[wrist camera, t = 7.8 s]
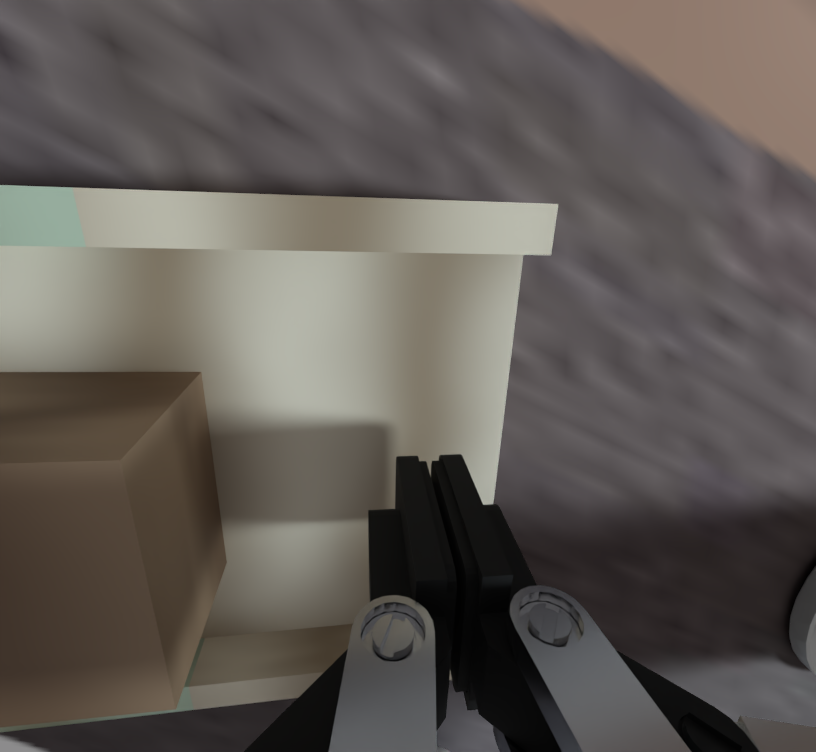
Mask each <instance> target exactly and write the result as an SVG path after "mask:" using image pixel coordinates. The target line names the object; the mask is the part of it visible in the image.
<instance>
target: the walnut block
mask: <svg viewBox="0 0 816 752" xmlns="http://www.w3.org/2000/svg"><path fill="white" fill-rule="evenodd" d="M226 564H227V560H226V552H225V545H224V538H223V530H222V523H221V515H220V508H219V500H218V493H217V485H216V478H215V470H214V463H213V455H212V448H211V440H210V433H209V425H208V418H207V410H206V403H205V396H204V388H203V381H202V373H201V372H0V728H1V727H11V726H20V725H30V724H40V723H49V722H59V721H69V720H78V719H88V718H98V717H107V716H117V715H127V714H136V713H146V712H156V711H165V710H175V709H176V708H177V705H178V702H179V699H180V696H181V694H182V691H183V688H184V685H185V682H186V679H187V676H188V673H189V670H190V668H191V665H192V662H193V659H194V656H195V653H196V650H197V647H198V644H199V642H200V639H201V636H202V633H203V630H204V627H205V624H206V621H207V618H208V616H209V613H210V610H211V607H212V604H213V601H214V598H215V595H216V592H217V590H218V587H219V584H220V581H221V578H222V575H223V572H224V569H225V566H226Z"/></svg>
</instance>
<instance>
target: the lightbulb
mask: <svg viewBox="0 0 816 752" xmlns="http://www.w3.org/2000/svg"><path fill="white" fill-rule="evenodd" d="M437 752H451V751H449V750H448V749H446V748H442V747H439V746H438V745H437Z"/></svg>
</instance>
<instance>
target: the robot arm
mask: <svg viewBox="0 0 816 752" xmlns="http://www.w3.org/2000/svg"><path fill="white" fill-rule="evenodd" d="M368 547H369V594H370V602H369V603H368V604H366V605H365V606H364V607H363V608H362V609H361V610H360V611H359V613H358V614H357V615H356V617H355V620H354V623H353V625H352V629H351V634H350V640H349V645H348V649H347V650H346V651H345V652H344V653H343V654H342V655H341V656H340V657H339V658H338V659H337V660H336V661H335V662H334V663H333V664H332V665H331V666H330V667H329V668H328V669H327V670H326V671H325V672H324V673H323V674H322V675H321V676H320V677H319V678H318V679H317V680H316V681H315V682H314V683H313V684H312V685H311V686H310V687H309V688H308V689H307V690H306V691H305V692H304V693H303V694H302V695H301V696H300V697H299V698H298V699H297V700H296V701H295V702H294V703H292V704H291V705H290V706H289V707H288V708H287V709H286V710H285V711H284V712H283V713H282V714H281V715H280V716H279V717H278V718H277V719H276V720H275V721H274V722H273V723H272V724H271V725H270V726H269V727H268V728H267V729H266V730H265V731H264V732H263V733H262V734H261V735H260V736H259V737H258V738H257V739H256V740H255V741H254V742H253V743H252V744H251V745H250V746H249V747H248V748H247V749H246V750H245V751H244V752H437V730H438V728H439V727H440V725H441V724H442V722H443V721H444V719H445V718H446V708H447V696H448V688H449V676H450V671H451V676H452V681H453V686H454V689H455V691H456V692H460V691H464V696H465V700H466V705H467V709H468V710H476V709H478V712H479V714H480V715H481V716H482V717H483V718H485V719H486V720H487V721H488V722H489V723H491V724H492V725H493V732H494V736H495V740H496V744H497V746H498V749H499V751H500V752H816V727H812V726H806V725H799V724H793V723H787V722H780V721H774V720H767V719H761V718H754V717H748V716H741V715H740V717H739V719H738V722H734V721H733V720H731V719H730V718H729V717H728V716H726V715H725V714H723V713H722V712H721V711H719V710H718V709H716V708H715V707H713V706H712V705H710V704H708V703H706V702H705V701H703V700H701V699H700V698H698V697H696V696H694V695H693V694H691V693H689V692H687V691H686V690H684V689H682V688H681V687H679V686H677V685H675V684H674V683H672V682H670V681H668V680H667V679H665V678H663V677H661V676H660V675H658V674H656V673H655V672H653V671H651V670H649V669H648V668H646V667H644V666H642V665H641V664H639V663H637V662H636V661H634V660H632V659H630V658H629V657H627V656H625V655H623V654H622V653H620V652H618V651H617V650H615V649H614V648H613V646H612V645H611V644H610V642H609V641H608V640H607V638H606V637H605V635H604V634H603V633H602V631H601V630H600V629H599V627H598V626H597V625H596V623H595V622H594V621H593V619H592V618H591V617H590V615H589V614H588V613H587V611H586V610H585V609H584V608H583V607H582V606H581V605H580V604H579V603H578V601H577V600H575V599H574V598H572V597H571V596H570V595H568V594H567V593H565V592H563V591H560V590H558V589H556V588H553V587H548V586H543V585H536V583H535V581H534V579H533V576H532V574H531V572H530V570H529V568H528V566H527V564H526V562H525V560H524V558H523V556H522V553H521V551H520V549H519V547H518V545H517V543H516V541H515V539H514V537H513V535H512V533H511V530H510V528H509V526H508V524H507V522H506V520H505V518H504V516H503V514H502V512H501V510H500V508H499V506H498V505H496V504H488V505H483V503H482V501H481V498H480V496H479V494H478V491H477V489H476V487H475V484H474V482H473V480H472V477H471V475H470V472H469V470H468V468H467V465H466V463H465V461H464V458H463V456H462V455H461V454H451V455H440V456H439V461H432V463H431V476H430V473H429V469H428V465H427V462H426V461H419V458H418V456H397V457H396V482H395V509H380V510H368ZM789 637H790V641H791V645H792V649H793V651H794V652H795V654H796V655H797V657H798V658H799V660H800V661H801V662H802V663H803V664H804V665H805V666H806V667H807V668H808V669H809V670H810V671H811V672H812V673H813V674H814V675H815V676H816V566H815V567H814V569H813V570H812V572H811V573H810V574H809V576H808V577H807V578H806V580H805V582H804V584H803V586H802V588H801V590H800V592H799V593H798V595H797V597H796V600H795V603H794V606H793V609H792V613H791V616H790V628H789Z"/></svg>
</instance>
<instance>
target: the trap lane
mask: <svg viewBox="0 0 816 752" xmlns="http://www.w3.org/2000/svg"><path fill="white" fill-rule="evenodd" d="M557 210H558V204H541V203H511V202H482V201H453V200H424V199H394V198H365V197H336V196H306V195H277V194H248V193H219V192H189V191H160V190H131V189H101V188H72V187H43V186H14V185H0V372H201V373H202V381H203V388H204V396H205V403H206V410H207V418H208V425H209V433H210V440H211V448H212V455H213V463H214V470H215V478H216V485H217V493H218V500H219V508H220V515H221V523H222V530H223V538H224V545H225V552H226V560H227V564H226V566H225V569H224V572H223V575H222V578H221V581H220V584H219V587H218V590H217V592H216V595H215V598H214V601H213V604H212V607H211V610H210V613H209V616H208V618H207V621H206V624H205V627H204V630H203V633H202V636H201V639H200V642H199V644H198V647H197V650H196V653H195V656H194V659H193V662H192V665H191V668H190V670H189V673H188V676H187V679H186V682H185V685H184V688H183V691H182V694H181V696H180V699H179V702H178V705H177V708H176V709H175V710H165V711H156V712H146V713H136V714H127V715H117V716H107V717H98V718H88V719H78V720H69V721H59V722H49V723H40V724H30V725H20V726H11V727H1V728H0V732H8V731H17V730H26V729H34V728H43V727H51V726H60V725H69V724H77V723H86V722H94V721H103V720H112V719H120V718H129V717H137V716H146V715H155V714H163V713H172V712H180V711H189V710H197V709H206V708H215V707H223V706H232V705H240V704H249V703H258V702H266V701H275V700H283V699H292V698H299V697H300V696H301V695H302V694H303V693H304V692H305V691H306V690H307V689H308V688H309V687H310V686H311V685H312V684H313V683H314V682H315V681H316V680H317V679H318V678H319V677H320V676H321V675H322V674H323V673H324V672H325V671H326V670H327V669H328V668H329V667H330V666H331V665H332V664H333V663H334V662H335V661H336V660H337V659H338V658H339V657H340V656H341V655H342V654H343V653H344V652H345V651H346V650H347V649H348V645H349V640H350V634H351V629H352V625H353V623H354V620H355V617H356V615H357V614H358V613H359V611H360V610H361V609H362V608H363V607H364V606H365V605H366V604H368V603H369V602H370V594H369V547H368V510H380V509H395V482H396V457H397V456H418V458H419V461H426V462H427V465H428V469H429V473H430V476H431V463H432V461H439V456H440V455H451V454H461V455H462V456H463V458H464V461H465V463H466V465H467V468H468V470H469V472H470V475H471V477H472V480H473V482H474V484H475V487H476V489H477V491H478V494H479V496H480V498H481V501H482V503H483V505H488V504H493V502H494V494H495V485H496V477H497V469H498V460H499V452H500V444H501V435H502V427H503V419H504V411H505V402H506V394H507V386H508V377H509V369H510V361H511V352H512V344H513V336H514V328H515V319H516V311H517V303H518V294H519V286H520V278H521V269H522V261H523V255H551V252H552V245H553V238H554V231H555V224H556V217H557ZM449 680H452V676H451V671H450V676H449Z"/></svg>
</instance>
